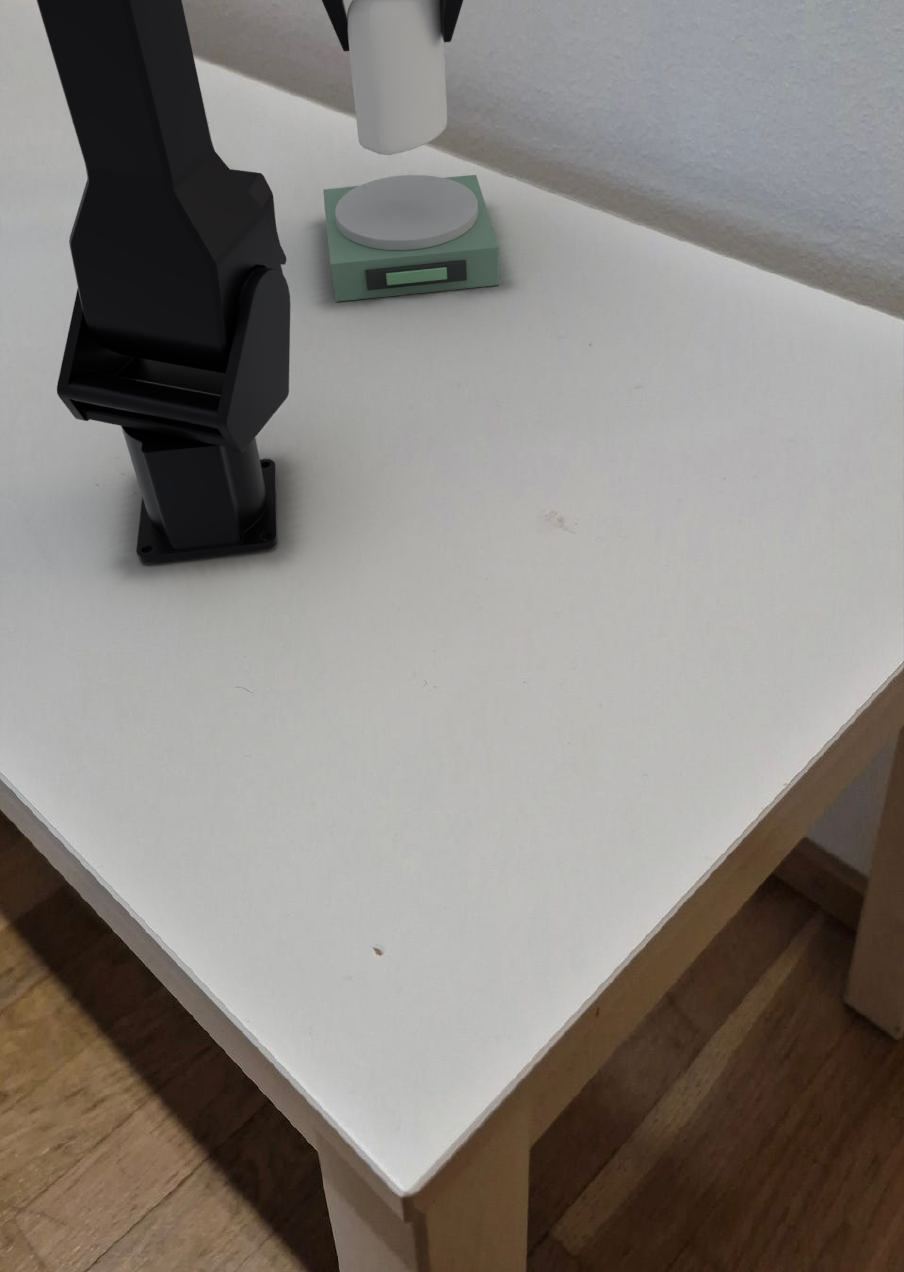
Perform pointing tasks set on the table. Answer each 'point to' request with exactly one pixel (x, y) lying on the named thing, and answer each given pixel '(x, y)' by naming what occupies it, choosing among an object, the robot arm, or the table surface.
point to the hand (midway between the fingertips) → (397, 44)
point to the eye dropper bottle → (397, 73)
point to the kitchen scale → (409, 237)
